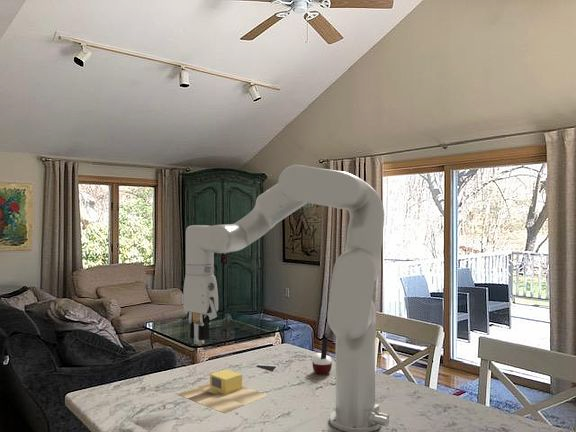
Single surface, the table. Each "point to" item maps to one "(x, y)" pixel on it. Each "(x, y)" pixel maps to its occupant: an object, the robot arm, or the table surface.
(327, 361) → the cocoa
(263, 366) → the smartphone
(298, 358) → the table surface
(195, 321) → the two-tone metal cylinder
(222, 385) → the yellow rectangular block
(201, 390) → the subfloor panel
